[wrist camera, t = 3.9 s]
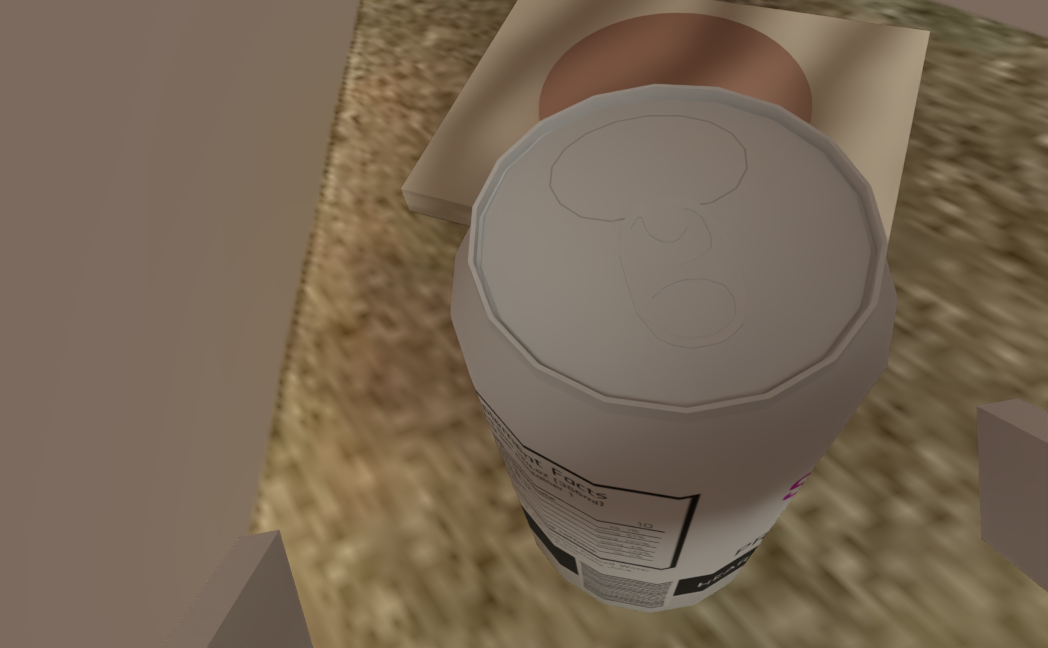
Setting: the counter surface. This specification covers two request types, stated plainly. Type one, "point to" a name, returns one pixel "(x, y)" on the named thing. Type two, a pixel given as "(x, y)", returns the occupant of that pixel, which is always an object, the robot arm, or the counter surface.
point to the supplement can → (669, 329)
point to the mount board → (676, 82)
